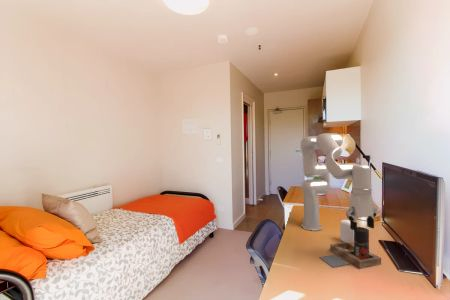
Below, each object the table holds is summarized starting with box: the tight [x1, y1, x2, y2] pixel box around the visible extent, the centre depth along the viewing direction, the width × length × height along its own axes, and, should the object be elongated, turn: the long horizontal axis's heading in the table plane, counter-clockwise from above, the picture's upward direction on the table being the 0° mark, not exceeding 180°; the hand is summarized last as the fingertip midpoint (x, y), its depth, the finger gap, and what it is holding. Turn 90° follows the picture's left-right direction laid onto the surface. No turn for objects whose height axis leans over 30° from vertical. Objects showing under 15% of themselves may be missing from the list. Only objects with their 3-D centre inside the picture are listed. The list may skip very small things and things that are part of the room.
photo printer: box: [339, 219, 359, 243], centre depth 122 cm, size 10×4×12 cm, turn 14°
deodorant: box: [354, 226, 370, 260], centre depth 103 cm, size 6×6×15 cm
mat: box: [319, 253, 351, 269], centre depth 104 cm, size 9×9×1 cm
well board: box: [329, 241, 382, 269], centre depth 107 cm, size 18×12×3 cm, turn 15°
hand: (362, 228), depth 102 cm, fingers open, 9 cm apart
